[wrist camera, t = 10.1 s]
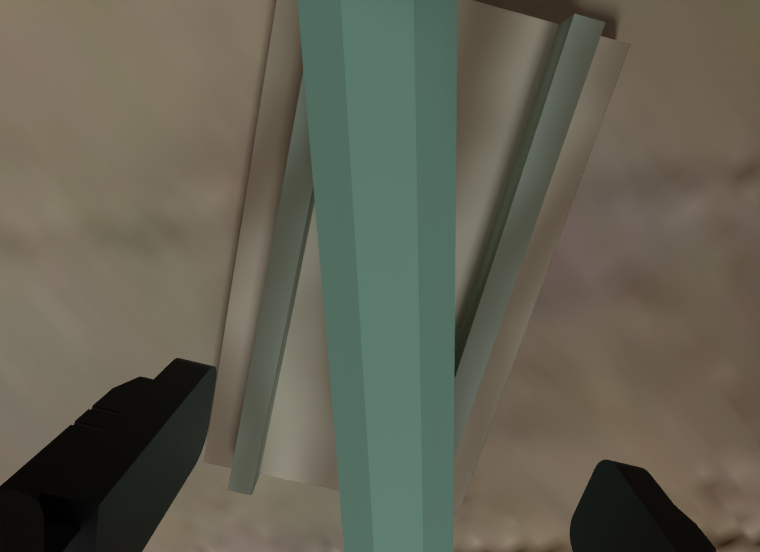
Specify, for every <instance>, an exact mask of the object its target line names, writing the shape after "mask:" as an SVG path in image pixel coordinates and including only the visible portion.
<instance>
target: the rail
mask: <svg viewBox="0 0 760 552" xmlns="http://www.w3.org/2000/svg"><path fill="white" fill-rule="evenodd" d="M605 23H606V22H603V21H600V20H596V19H592V18H589V17H585V16H582V15H578V14H575V13H574V14H573V15H572V16H570V17H569V18H567V19H566V20H564V21H563V22H561V23H560V24H556V23H553V22H549V21H546V20H542V19H538V18H535V17H531V16H528V15H524V14H520V13H517V12H513V11H510V10H506V9H502V8H499V7H495V6H492V5H488V4H484V3H481V2H477V1H474V0H458V7H457V126H456V244H455V363H454V481H453V514H454V515H458V513H459V511H460V508H461V505H462V502H463V500H464V497H465V494H466V492H467V489H468V486H469V483H470V481H471V478H472V475H473V472H474V470H475V467H476V464H477V462H478V459H479V456H480V453H481V451H482V448H483V445H484V442H485V440H486V437H487V434H488V432H489V429H490V426H491V423H492V421H493V418H494V415H495V412H496V410H497V407H498V404H499V401H500V399H501V396H502V393H503V391H504V388H505V385H506V382H507V380H508V377H509V374H510V371H511V369H512V366H513V363H514V361H515V358H516V355H517V352H518V350H519V347H520V344H521V341H522V339H523V336H524V333H525V331H526V328H527V325H528V322H529V320H530V317H531V314H532V311H533V309H534V306H535V303H536V300H537V298H538V295H539V292H540V290H541V287H542V284H543V281H544V279H545V276H546V273H547V270H548V268H549V265H550V262H551V260H552V257H553V254H554V251H555V249H556V246H557V243H558V240H559V238H560V235H561V232H562V230H563V227H564V224H565V221H566V219H567V216H568V213H569V210H570V208H571V205H572V202H573V199H574V197H575V194H576V191H577V189H578V186H579V183H580V180H581V178H582V175H583V172H584V169H585V167H586V164H587V161H588V159H589V156H590V153H591V150H592V148H593V145H594V142H595V139H596V137H597V134H598V131H599V129H600V126H601V123H602V120H603V118H604V115H605V112H606V109H607V107H608V104H609V101H610V98H611V96H612V93H613V90H614V88H615V85H616V82H617V79H618V77H619V74H620V71H621V68H622V66H623V63H624V60H625V58H626V55H627V52H628V49H629V47H630V44H628V43H625V42H621V41H618V40H614V39H610V38H607V37H603V36H601V34H602V32H603V29H604V26H605ZM204 462H205V463H210V464H215V465H220V466H224V467H229V468H232V470H231V475H230V481H229V487H228V490H229V491H234V492H239V493H244V494H249V495H252V493H253V490H254V487H255V485H256V482H257V479H258V477H259V474H263V475H267V476H272V477H277V478H282V479H287V480H291V481H296V482H301V483H306V484H311V485H315V486H320V487H325V488H330V489H334V490H339V478H338V467H337V455H336V443H335V432H334V420H333V408H332V397H331V385H330V374H329V362H328V350H327V339H326V327H325V315H324V304H323V292H322V281H321V269H320V257H319V246H318V234H317V222H316V211H315V199H314V188H313V176H312V164H311V153H310V141H309V129H308V118H307V106H306V95H305V83H304V71H303V60H302V48H301V36H300V25H299V13H298V2H297V0H277V1H276V7H275V13H274V20H273V26H272V32H271V39H270V45H269V51H268V58H267V64H266V71H265V77H264V83H263V90H262V96H261V102H260V109H259V115H258V121H257V128H256V134H255V140H254V147H253V153H252V159H251V166H250V172H249V178H248V185H247V191H246V197H245V204H244V210H243V216H242V223H241V229H240V236H239V242H238V248H237V255H236V261H235V267H234V274H233V280H232V286H231V293H230V299H229V305H228V312H227V318H226V324H225V331H224V337H223V343H222V350H221V356H220V362H219V369H218V375H217V381H216V388H215V394H214V400H213V407H212V413H211V420H210V426H209V432H208V439H207V445H206V451H205V458H204ZM339 491H340V490H339Z"/></svg>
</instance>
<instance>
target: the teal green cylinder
mask: <svg viewBox="0 0 760 552" xmlns="http://www.w3.org/2000/svg"><path fill="white" fill-rule="evenodd" d="M297 2H298V13H299V25H300V36H301V48H302V60H303V71H304V83H305V95H306V106H307V118H308V129H309V141H310V153H311V164H312V176H313V188H314V199H315V211H316V222H317V234H318V246H319V257H320V269H321V281H322V292H323V304H324V315H325V327H326V339H327V350H328V362H329V374H330V385H331V397H332V408H333V420H334V432H335V443H336V455H337V467H338V478H339V490H340V501H341V513H342V525H343V536H344V548H345V552H453V481H454V363H455V244H456V126H457V7H458V0H297Z"/></svg>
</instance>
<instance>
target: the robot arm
mask: <svg viewBox="0 0 760 552" xmlns="http://www.w3.org/2000/svg"><path fill="white" fill-rule="evenodd" d="M215 381H216V368H215V367H214V366H210V365H206V364H202V363H197V362H193V361H189V360H185V359H180V358H176V359H174V360H173V361H172V362H171V363H170V364H169V365H168V366H167V367H166V368H165V369H164V370H163V371H162V372H161V373H160V374H159V375H158V376H157V377H156V378H155V379H154V380H153V379H149V378H145V377H138V378H136V379H133V380H131V381H129V382H126V383H124V384H122V385H119V386H117V387H115V388H113V389H111V390H110V391H109V392H108V393H107V394H106V395H104V396H103V397H102V398H101V399H100V400H99V401H98V402H96V403H95V404H94V405H93V407H92V409H91V410H89V409H88V410H87V411H86V412H85V413H84V414H83V415H81V416H80V417H79V418H78V419H77V420H76V421H75V423H74V425H70V426H69V427H68V428H67V429H65V430H64V431H63V432H62V433H61V434H60V435H59V436H57V437H56V438H55V439H54V440H53V441H52V442H50V443H49V444H48V445H47V446H46V447H45V448H44V449H42V450H41V451H40V452H39V453H38V454H37V455H36V456H34V457H33V458H32V459H31V460H30V461H29V462H27V463H26V464H25V465H24V466H23V467H22V468H21V469H19V470H18V471H17V472H16V473H15V474H14V475H13V476H11V477H10V478H9V479H8V480H7V481H6V482H4V483H3V484H2V485H1V486H0V552H142V551H143V549H144V548H145V546H146V544H147V543H148V541H149V539H150V538H151V536H152V535H153V533H154V531H155V530H156V528H157V526H158V525H159V523H160V522H161V520H162V518H163V517H164V515H165V513H166V512H167V510H168V509H169V507H170V505H171V504H172V502H173V500H174V499H175V497H176V496H177V494H178V492H179V491H180V489H181V487H182V486H183V484H184V483H185V481H186V479H187V478H188V476H189V474H190V473H191V471H192V470H193V468H194V466H195V465H196V463H197V461H198V459H199V456H200V454H201V451H202V449H203V446H204V443H205V439H206V435H207V431H208V425H209V418H210V412H211V406H212V400H213V394H214V388H215ZM570 541H571V546H572V550H573V552H716V548H715V547H714V546H713V545H712V543H711V542H710V541H709V540H708V538H707V537H706V536H705V535H704V533H703V532H702V531H701V530H700V528H699V527H698V526H697V525H696V524H695V523H694V522H693V521H692V520H691V519H690V518H689V517H687V516H686V515H685V514H684V513H683V512H682V511H681V510H679V509H678V508H677V507H676V506H675V505H674V504H673V503H672V501H671V500H670V499H669V498H668V496H667V495H666V494H665V492H664V491H663V490H662V489H661V487H660V486H659V485H658V484H657V482H656V481H655V480H654V478H653V477H652V476H651V475H650V473H649V472H648V471H646V470H645V469H643V468H641V467H636V466H632V465H628V464H624V463H619V462H615V461H611V460H602V461H601V462H599V463H598V465H597V466H596V468H595V469H594V472H593V474H592V476H591V478H590V480H589V482H588V484H587V487H586V489H585V491H584V493H583V495H582V497H581V499H580V502H579V504H578V506H577V508H576V510H575V512H574V514H573V517H572V520H571V525H570Z"/></svg>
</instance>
